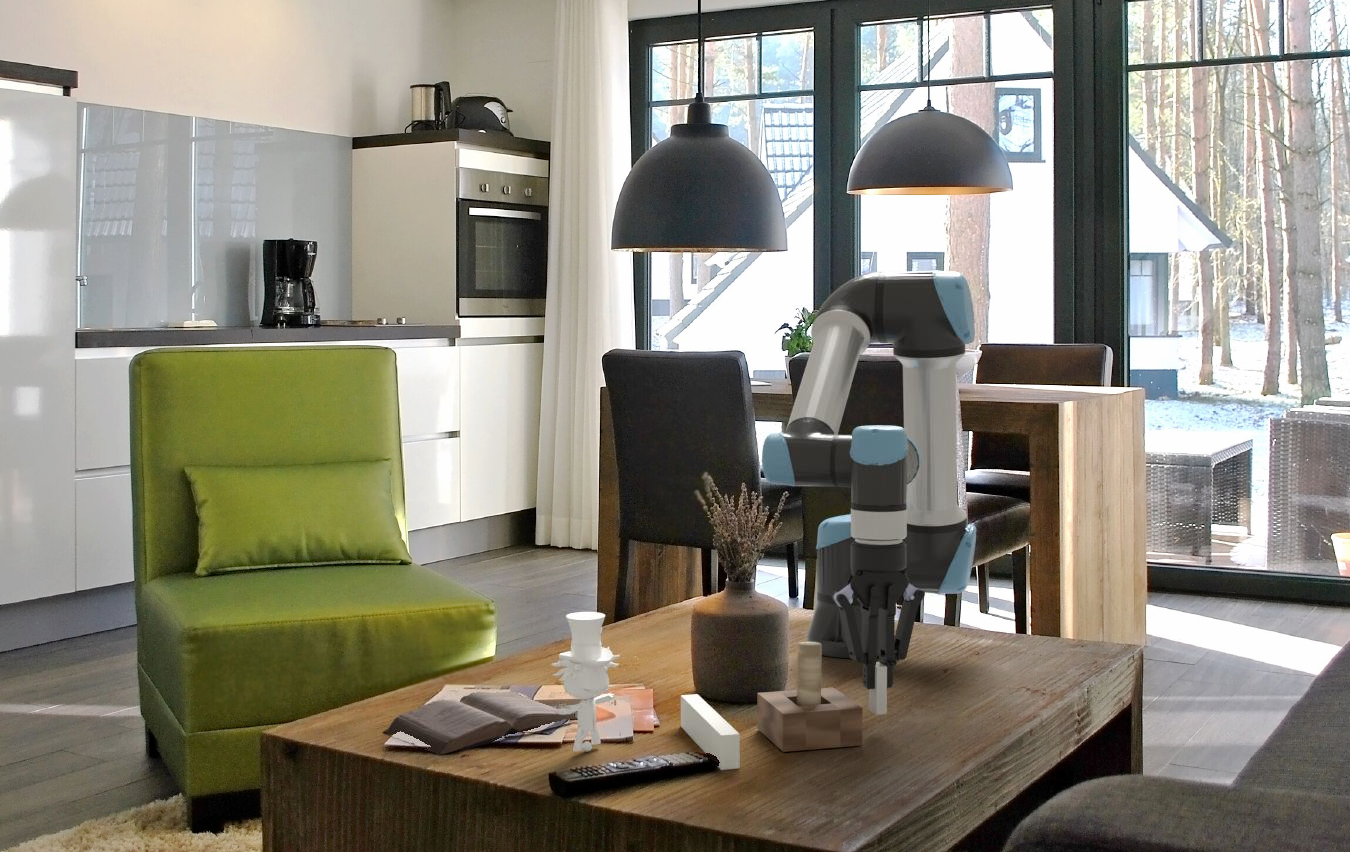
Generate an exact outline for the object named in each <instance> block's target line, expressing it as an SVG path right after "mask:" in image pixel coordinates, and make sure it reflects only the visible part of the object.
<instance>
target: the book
mask: <svg viewBox="0 0 1350 852" xmlns="http://www.w3.org/2000/svg"><path fill="white" fill-rule="evenodd" d="M517 693H518V692H509V691H502V692H501V691H500V692H499V691H498V692H497V691H496V692H489V691H476V692H471V693H469V695H468V694H467V695H463V696H462V697H461V698H460V699H459V701H458V700H455V699H438V700H434V701H431V702H429V703H426V704H423V705H421V706H419V707H418V708H417V709H412V710H410V711H407V712H405V713H401V714H399V715H398V716H396V717H395V718H394V720H392V722H391V724H390V725H389V727H387V729H385V730H383V731H382V732H381V733H382V734H384V735H387V736H389V737H392V736H391V735H393V734H396V733H397V732H400V731H401V732H404V733H405V734H408V735H410V736H413V737H414V738H416V739H419V740H420V741H422V742H424V743H425V744H427V745H430V746H431V747H429V748H428V749H424V750H426V751H429V752H431V753H435V754H437V755H444V754H448V753H453V752H457V751H462V750H467V749H471V748H476V747H480V746H484V745H489V744H492V743H491V742H493V741H495V740H497V739H499V738H502V736H506V735H508V734H515V733H517V732H523V731H528V730H531V729H534V728H538V727H540V726H541V725H545V724H550V723H552V722H557V721H561V720H563V719H576V718H577V717H576V716H574V714H573V713H571V714H565V715H560V714H558V713H557V712H556V711H557V710H558V709H557V708H554V707H552V706H549V705H546V704H543V703H540V702H538V701H535V700H532V699H529V698H527V697H523V696H521V695H519V694H517ZM381 727H384V724H383V725H381ZM493 743H494V742H493Z"/></svg>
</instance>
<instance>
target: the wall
mask: <svg viewBox="0 0 1350 852" xmlns="http://www.w3.org/2000/svg"><path fill="white" fill-rule="evenodd" d="M680 727H681V728H682V730H684V732H685V733H686V734H687V735H688V736H689V737H690V738H691V739H692V740H693V741H694V743H696V745H698V746H699V748H700V749H701V750H702V751H703V752H704V753H705V754H706V753H710V754H712V755H714V756H716V757H717V759H718V760H719V762H720V763H719V766H717V767H718V768H719V769H720V771H725V770H736V769H740V768H741V767H740V766H741V765H740V758H741V757H740V754H741V753H740V750H741V749H740V748H741V747H740V743H741V742H740V733H739V731H737V730H736V729H735V728H734V727H733V726H732V725H731V724H730V723H729V722H728V721H726V719H724V718H723V716H721V715H720V714H719V713H718V712H717V711H716V710H715V709H714V708H713V707H712V706H711V705H709V704H708V702H707V701H705V700H704V699H703V698H702V697H701V695H699V694H698V693H695V694H682V695H680Z"/></svg>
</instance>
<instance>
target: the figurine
mask: <svg viewBox="0 0 1350 852" xmlns="http://www.w3.org/2000/svg"><path fill="white" fill-rule="evenodd" d="M565 618H566V620H567V622H568V625H569V627H570V629H569V630H570V633H571V642H570V650H569V651H565V652H562V653H559V654H558V658H559V659H558V661H557V662H553V663H550V664H551V666H553V667H555V668H557V667H563V668H560V669H559V670H557V672H556V673H553V674H552V675H553V677H558V676H561V675H562V676H561V677H560V678H559V679H558V681H559V682H563V685H562V686H563V690H564V691H565V693H566V694H568V695H569V696H571V697H573V698H575V699H578V700H580V702H579V703H577V704H576V703H575V704H569V705H566V706H564V707H563V708H561V709H558V710H557V711H556V712H557V713H558V714H560V715H565V714H571V713H574V712H576V711H578V712H577V719H578V722H577V727H578V728H577V731H576V734H575V739H574V743H573V748H572V751H573V752H580V751H584V752H586V753H588V752H590V751H591V750H592V748H593V746H596V745H600V744H601V743H602V741H601V738H600V735H599V731H598V728H597V713H596V712H597V710H596V709H597V708H596V705H598V704H604V703H608V702H611V701H613V700H614V699H615V698H616V694H614V693H606V692H608V690H609V685H610V678H609V675H608V669H609V668H617V667H618V666H619V665H620V663H614V662H613V660H617V659H618V658H620V656H621V654H617V655H614V654H613V652H612V651H611V650H610V646H607V648H606V647H604V646H602V641H601V636H602V633H603V629H604V628H603V627H602V626H603V624H604V621H605V618H606V614H605V613H602V612H595V611H580V612H579V611H578V612H572V613H571V612H570V613H568V614H566V615H565ZM590 732H591V733H590ZM589 733H590V738H591V739H590V740H591V741H585V740H586V738H587V737H588V735H589Z"/></svg>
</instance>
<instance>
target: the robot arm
mask: <svg viewBox="0 0 1350 852" xmlns="http://www.w3.org/2000/svg"><path fill="white" fill-rule="evenodd" d="M974 313H975V312H974V305H973V299H972V294H971V288H970V285H969V283H968V280H967V278H966V277H965V275H963V274H962V273H960V272H957V271H947V270H937V269H936V270H918V271H917V270H915V271H913V270H911V271H893V272H892V271H888V272H885V271H883V272H882V271H874V272H873V271H872V272H867V273H863V274H860V275H858V276H856V277H854V278H851V279H850V280H848V281H847V282H845V283H843V284H842V285H841V286H839V287H838V288H837V289H836V290H834V291H833V292H832V293H831V294H830V295H829V296H828V297H827V299H826V300H825V301H824V302H823V303H822V305H820V308H819V309H818V310H817V313H816V315H815V317H814V319H813V322H812V326H811V330H810V334H811V341H812V342H813V344H812V347H811V349H810V353H809V355H808V356H809V357H808V359H807V362H806V366H805V368H804V372H803V376H802V378H801V382H800V384H799V388H798V391H797V395H796V398H795V400H794V403H793V407H792V410H791V413H790V415H789V416H790V417H789V420H788V423H787V426H786V429H785V432H783V431H780V432H779V433H777V432H776V433H771V434H769V435H767V436H766V438H765V439H764V441H763V445H762V453H761V466H762V472H763V475H764V478H765V480H766V481H767V482H768V483H769V484H773V485H780V486H781V485H782V486H790V487H831V488H832V487H833V488H834V487H838V488H850V495H851V496H850V498H851V499H850V513H849V514H844V515H838V516H833V517H829V518H826V519H824V520H823V521H822V522H821V523H820V524H819V526H818V528H817V540H816V546H815V549H816V591H817V592H816V598H817V599H816V606H815V610H814V612H813V615H812V619H811V621H810V625H809V626H808V627H809V628H808V630H807V634H806V642H818V643H821V644H822V656H825V657H830V658H831V657H832V658H842V659H852V660H853V661H855V662H857V663H859V664H862V684H863V687H864V688H865V689H867V690H868V710H869V711H871V713H873V714H875V715H886V714H888V713H887V712H888V709H887V708H888V706H887V705H888V703H887V702H888V700H887V698H888V689H890V688H891V689H892V687H893V685H894V677H893V676H894V667H895V666H896V665H897V663H898V662H899V661H900V660H902V661H904V660H905V659H906V658H907V656H908V652H909V647H910V642H911V639H912V634H913V630H914V625H915V621H916V616H917V613H918V608H919V606H920V604H921V603H922V601H923V599H924V597H925V595H926V594H936V595H939V596H940V595H942V594H943V595H944V594H947V595H948V594H949V595H950V594H952V595H953V594H961V593H963V592H964V591H966V590H967V587H968V585H969V582H970V578H971V574H972V568H973V562H974V556H975V551H976V549H975V548H976V541H977V526H975V525H972V524H971V523H969V524H968V520H967V519H968V517H967V516H968V515H967V512H966V511H965V510H964V509H963V508H962V507H960V506H959V504H958V460H957V459H958V451H957V450H958V448H957V445H958V444H957V441H958V440H957V438H958V437H957V433H958V432H957V372H956V371H957V363H958V362H959V361H960V360H961V359H962V358H963V357H964V356H965V355H966V345H970V344H972V343H973V342H974V341H975V338H976V329H975V327H976V326H975V321H976V319H975V314H974ZM870 344H892V347H893V348H892V350H893V357H894V358H895V359H896V360H897V361H899V363H901V365H902V387H903V389H902V390H903V395H902V397H903V426H898V425H887V424H886V425H883V424H882V425H881V424H880V425H879V424H877V425H861V426H857V427H855V428H854V429H853V430H852V432H851V434H839V431H840V427H841V423H842V419H843V416H844V412H845V410H846V409H845V408H846V405H847V401H848V398H849V395H850V390H851V387H852V382H853V379H854V376H855V372H856V370H857V365H858V362H859V358H860V356H861V355H863V354H864V353H865V352H866V350H867V349H868V348H869V345H870ZM902 596H903V601H902V604H901V609H900V612H899V617H898V621H897V625H896V623H895V622H896V621H895V619H896V618H895V617H896V614H897V603H898V602H899V600H900V599H901V597H902ZM895 625H896V627H895ZM895 628H896V629H895ZM877 657H878V658H879V660H880V661H877V660H878V658H877Z"/></svg>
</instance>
